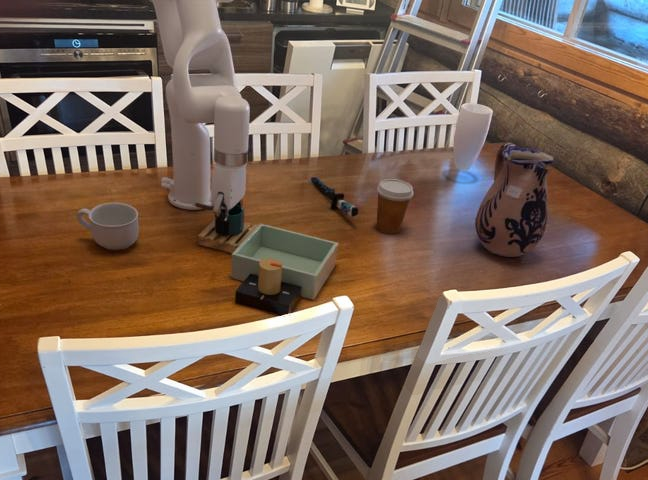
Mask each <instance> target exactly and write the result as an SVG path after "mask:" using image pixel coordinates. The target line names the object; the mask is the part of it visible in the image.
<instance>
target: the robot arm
mask: <svg viewBox="0 0 648 480" xmlns="http://www.w3.org/2000/svg"><path fill="white" fill-rule="evenodd" d="M233 1H235V0H151V2H152V4H153V7H154V12H155V16H156V21H157V26H158V31H159V36H160V40H161V41H160V42H161V45H162V50H163V55H164V58H165V61H166V63H167V65H168V66H169V67H170V68H172V78H170V80H169V81H168V82H167V84H166V87H165V97H166V104H167V108H168V113H169V119H170V130H171V132H170V133H171V150H172V175H173V178H172V179H171V178H169V177H166V176H165V177H163V176H162V178H161V188H162V189H165V190H169V192H168V195H167V197H168V201H169V203H170V204H171V205H172V206H173V207H176V208H178V209H179V208H180V209H182V210H188V211H198V210H199V211H200V210H204V209H203V208H199V207H196V206H195V203H201V204H205V205H208V206H212V207H214V208H213V211H212V213H213V214H214V220H215V219H216V233H217V234H220V236H221V235H225V236H228V235H229V220H228V216H229V211H230V209H231V208H233V207H234V206H235V205H236V204H238V205H240V206H241V207H243V206H244V198H245V195H246V189H247V166H248V161H249V160H248V159H249V140H250V139H249V138H250V137H249V136H250V135H249V133H250V112H251V110H250V109H251V108H250V104H249V102H248V101H247V100H246V99H245V98H243V97H242V94H241V93H240V91H239V89H238V85H237V79H236V73H235V67H234V62H233V61H234V60H233V55H232V49H231V45H230V41H229V39H228V36H227V35H226V33H225V31H224V30H223V29H222V25H221V20H220V15H219V10H218V6H217V3H232V2H233ZM195 70H209V72H210V73H207V74H202V73H199V74H198V73H197V74H189V71H195ZM210 123H213V163H214V166H213V171H212V179H211V136H210V132H209V130H208V128H207V127H206V126H205V124H210ZM222 204H225V205H227V207H224V206H222ZM221 209H224V210H226V211H225V215H224V214H223V213H222V212H221Z"/></svg>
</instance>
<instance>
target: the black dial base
mask: <svg viewBox="0 0 648 480" xmlns="http://www.w3.org/2000/svg"><path fill="white" fill-rule="evenodd" d="M258 277H259V275H255V274H251V273H250V274H249V276H248V277H247V278H246V279H245V280H244V281H242V283H240V285H239V286H238V287H237V289H236V290H235V296H234V297H235V298H234V299H235V301H234V303H235V304H239V305H242V306H246V307H250V308H253V309H257V310H260V311H264V312H267V313H271V314H274V315H278V316H282V315H284V314H288V313H291V314H292V312H293V311H294V309H295V308H296V306H297V305H298V303H299V302H300V300H301V299H302V297H301V290H302V287H300V286H297V285H293V284H289V283H285V282H281V290H280V292H279V293H277V294H274V295H267V294H263V293H261V292H260V291H259V290H258Z"/></svg>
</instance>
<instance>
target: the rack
mask: <svg viewBox="0 0 648 480" xmlns="http://www.w3.org/2000/svg"><path fill="white" fill-rule="evenodd" d="M258 225H259V224H254V225H253V226H252V223H251V222H247V221H245V222H244V228H243V231H242V232H241V233H239V234H236V235H228V236H225V235H221V234H217V233H216V230H215V219H213V221H211V223H209V225H208V226H206V227H205V228H204V229H203V230H202V231H200V233H199V234H198V235H197V245H199V246H202V247H207V248H210V249H215V250H217V251H222V252H225V253H230V254H232V253H233V252H234V251H235V250H236V249H237V248H238V247H239V246H240V245H241V244H242V243H243V242H244V240H245V239H246V238H247V237H248V236H249V235H250V234H251V233H252V232H253V231H254V230H255V229H256V228H257V226H258ZM240 238H241V239H240Z"/></svg>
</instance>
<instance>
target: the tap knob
mask: <svg viewBox="0 0 648 480" xmlns="http://www.w3.org/2000/svg"><path fill="white" fill-rule="evenodd" d="M281 277H282V263H281V262H280V261H279V260H277V259H272V258H267V259H263V260H261V261H260V262H259V277H258V290H259V291H260V292H261V293H263V294H267V295H274V294H277V293H279V292H280V290H281Z"/></svg>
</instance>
